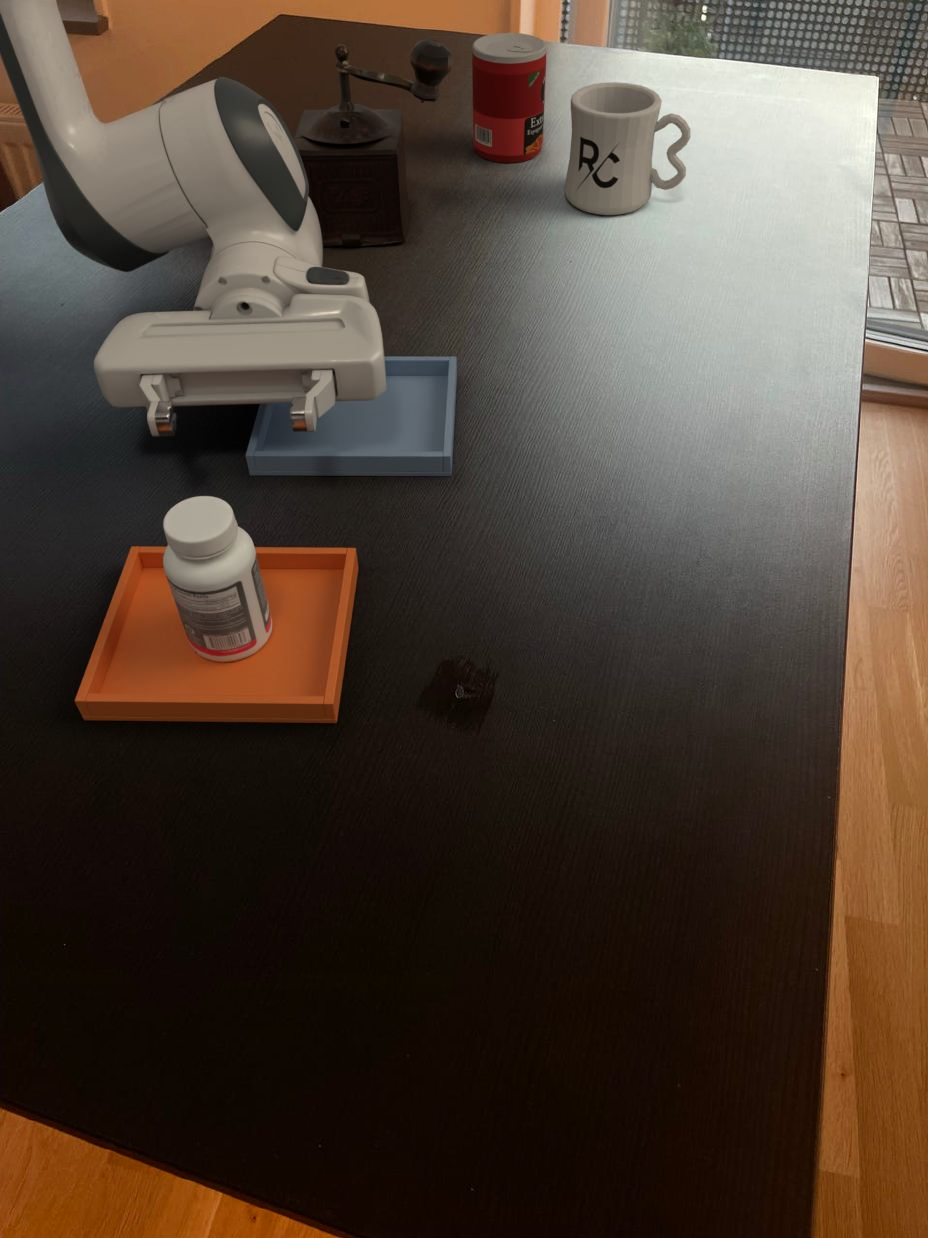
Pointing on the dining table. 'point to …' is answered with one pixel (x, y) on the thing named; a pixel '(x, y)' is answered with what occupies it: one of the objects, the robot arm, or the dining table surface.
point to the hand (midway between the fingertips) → (231, 425)
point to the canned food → (508, 96)
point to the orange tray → (237, 690)
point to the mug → (618, 148)
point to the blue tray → (368, 429)
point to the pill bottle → (215, 580)
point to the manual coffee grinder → (365, 154)
